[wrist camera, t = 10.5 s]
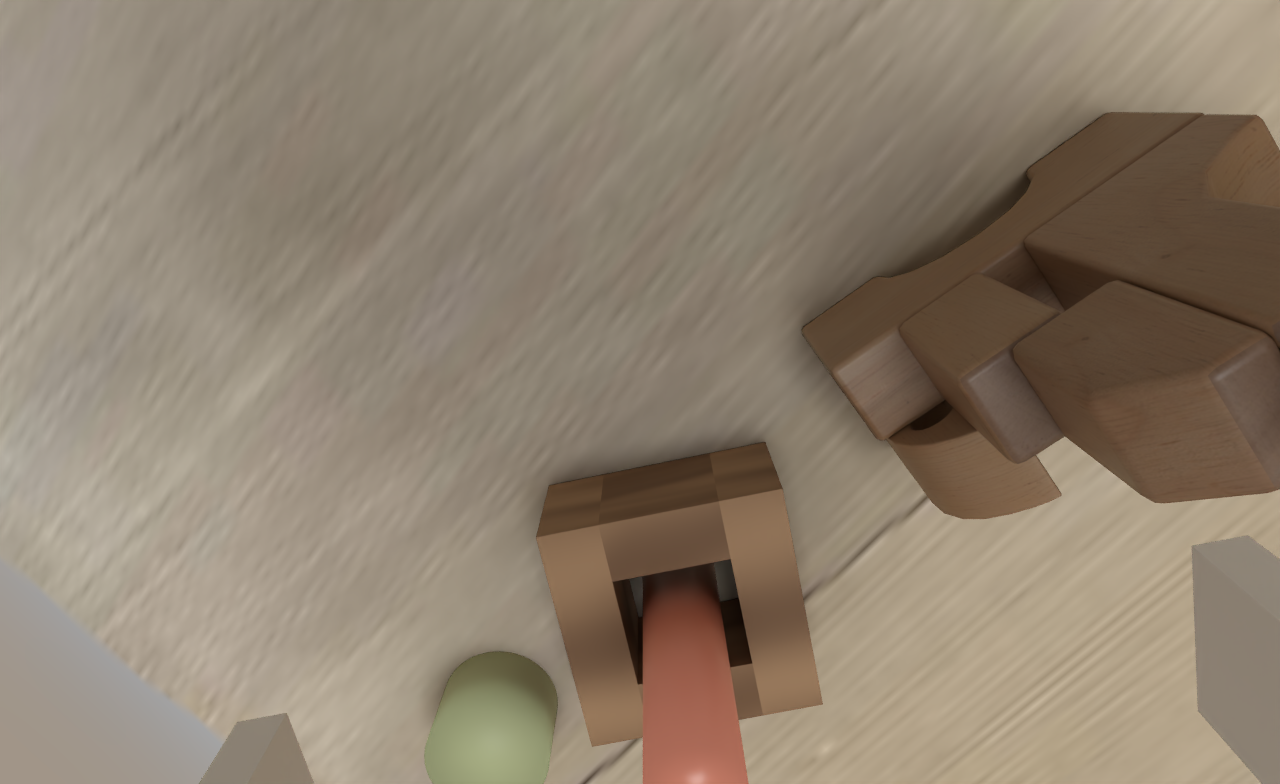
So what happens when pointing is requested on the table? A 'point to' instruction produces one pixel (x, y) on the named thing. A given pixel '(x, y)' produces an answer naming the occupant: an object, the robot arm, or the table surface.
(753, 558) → the square wooden frame
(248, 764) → the robot arm
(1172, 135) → the wooden toy
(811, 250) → the table surface
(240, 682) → the table surface
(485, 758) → the olive green rounded piece
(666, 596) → the pink capsule rod
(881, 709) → the table surface
